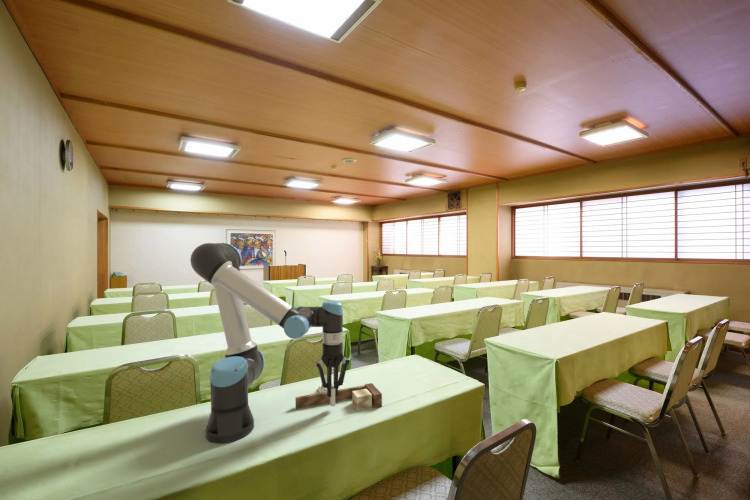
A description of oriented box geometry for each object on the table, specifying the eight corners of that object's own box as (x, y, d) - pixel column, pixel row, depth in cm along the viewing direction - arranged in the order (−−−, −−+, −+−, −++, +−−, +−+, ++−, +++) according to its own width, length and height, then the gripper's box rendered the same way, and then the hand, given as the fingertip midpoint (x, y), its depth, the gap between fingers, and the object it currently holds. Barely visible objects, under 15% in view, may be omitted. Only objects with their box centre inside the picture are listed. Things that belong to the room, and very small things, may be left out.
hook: (347, 379, 146) (333, 372, 143) (330, 401, 146) (317, 395, 144) (343, 369, 153) (331, 363, 150) (328, 391, 153) (315, 384, 151)
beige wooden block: (357, 410, 129) (357, 397, 129) (352, 403, 135) (352, 391, 135) (371, 407, 131) (371, 394, 131) (366, 400, 137) (366, 388, 137)
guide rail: (300, 422, 120) (300, 408, 120) (295, 407, 132) (295, 394, 132) (384, 406, 132) (384, 393, 132) (372, 393, 144) (372, 381, 143)
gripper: (317, 347, 123) (317, 412, 123) (352, 343, 128) (351, 406, 128) (313, 341, 130) (313, 403, 130) (346, 338, 135) (346, 397, 135)
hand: (332, 404), depth 129 cm, fingers closed
